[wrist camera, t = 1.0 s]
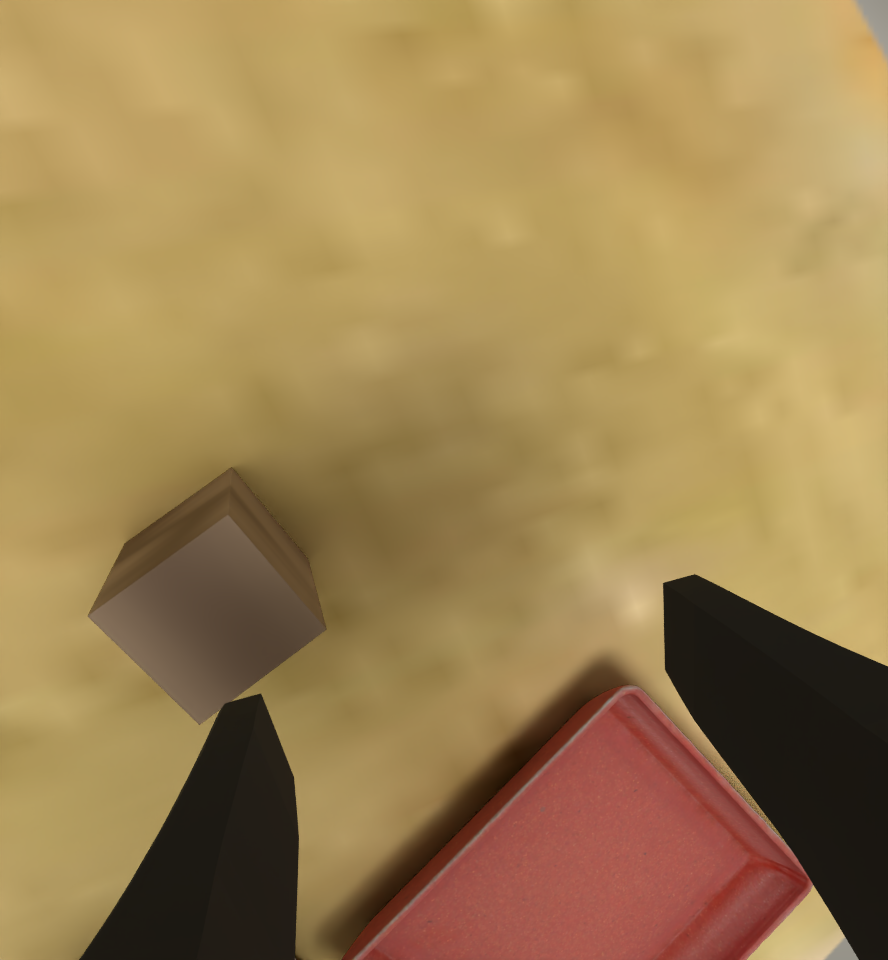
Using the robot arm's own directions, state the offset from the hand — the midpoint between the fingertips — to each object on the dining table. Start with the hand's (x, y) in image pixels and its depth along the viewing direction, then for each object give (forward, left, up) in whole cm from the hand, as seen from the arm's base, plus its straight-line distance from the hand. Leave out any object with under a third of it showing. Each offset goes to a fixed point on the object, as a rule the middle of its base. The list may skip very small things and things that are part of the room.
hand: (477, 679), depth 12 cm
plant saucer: (-3, -23, -15) cm, 28 cm away
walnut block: (-5, +1, -14) cm, 15 cm away
